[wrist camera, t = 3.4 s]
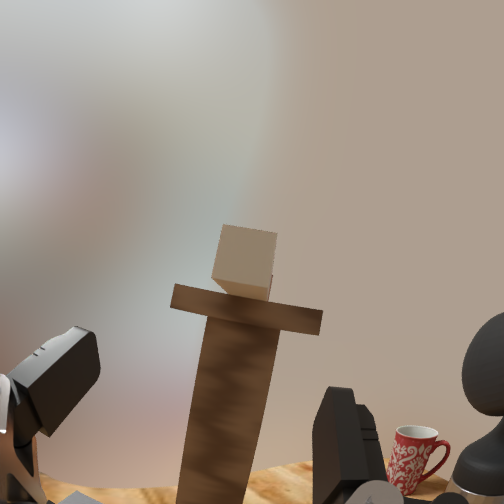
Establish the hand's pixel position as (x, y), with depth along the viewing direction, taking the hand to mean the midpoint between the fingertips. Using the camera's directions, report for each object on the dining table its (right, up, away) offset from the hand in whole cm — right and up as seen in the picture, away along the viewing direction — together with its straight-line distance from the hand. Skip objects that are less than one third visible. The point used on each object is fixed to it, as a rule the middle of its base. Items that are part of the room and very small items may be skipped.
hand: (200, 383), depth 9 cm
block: (+1, 0, +15) cm, 15 cm away
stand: (-4, -31, +11) cm, 33 cm away
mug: (+32, -43, +29) cm, 61 cm away
